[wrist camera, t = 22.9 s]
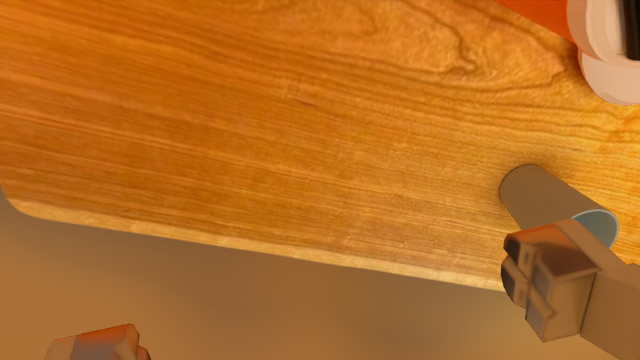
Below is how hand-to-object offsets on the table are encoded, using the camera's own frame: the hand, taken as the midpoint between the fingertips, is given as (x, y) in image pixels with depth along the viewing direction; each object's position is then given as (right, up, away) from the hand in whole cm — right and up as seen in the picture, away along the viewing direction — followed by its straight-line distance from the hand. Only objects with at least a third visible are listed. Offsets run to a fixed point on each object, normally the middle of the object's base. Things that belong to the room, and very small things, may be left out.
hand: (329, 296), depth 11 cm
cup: (+22, +2, +44) cm, 50 cm away
